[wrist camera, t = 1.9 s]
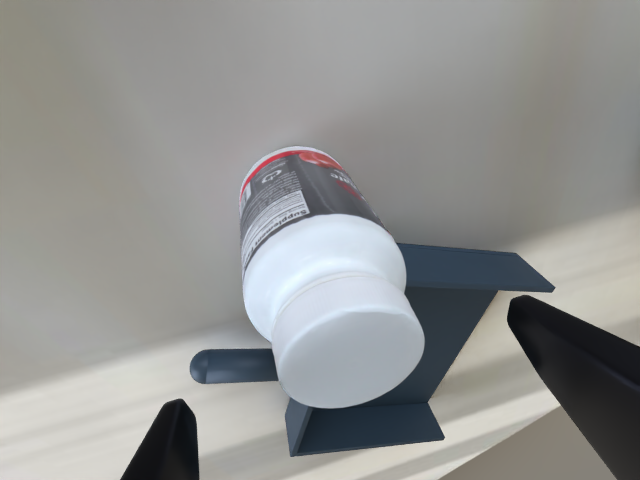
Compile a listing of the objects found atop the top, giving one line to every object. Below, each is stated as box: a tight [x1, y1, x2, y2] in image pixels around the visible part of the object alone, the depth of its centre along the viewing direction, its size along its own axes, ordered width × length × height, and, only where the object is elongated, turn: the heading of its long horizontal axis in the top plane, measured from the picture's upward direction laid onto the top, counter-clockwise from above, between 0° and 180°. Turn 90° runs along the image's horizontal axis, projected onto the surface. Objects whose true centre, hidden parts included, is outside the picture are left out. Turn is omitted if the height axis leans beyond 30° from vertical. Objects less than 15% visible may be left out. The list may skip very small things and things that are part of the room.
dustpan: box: [190, 243, 555, 457], centre depth 22 cm, size 19×16×3 cm
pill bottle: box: [239, 146, 425, 408], centre depth 13 cm, size 5×5×10 cm
